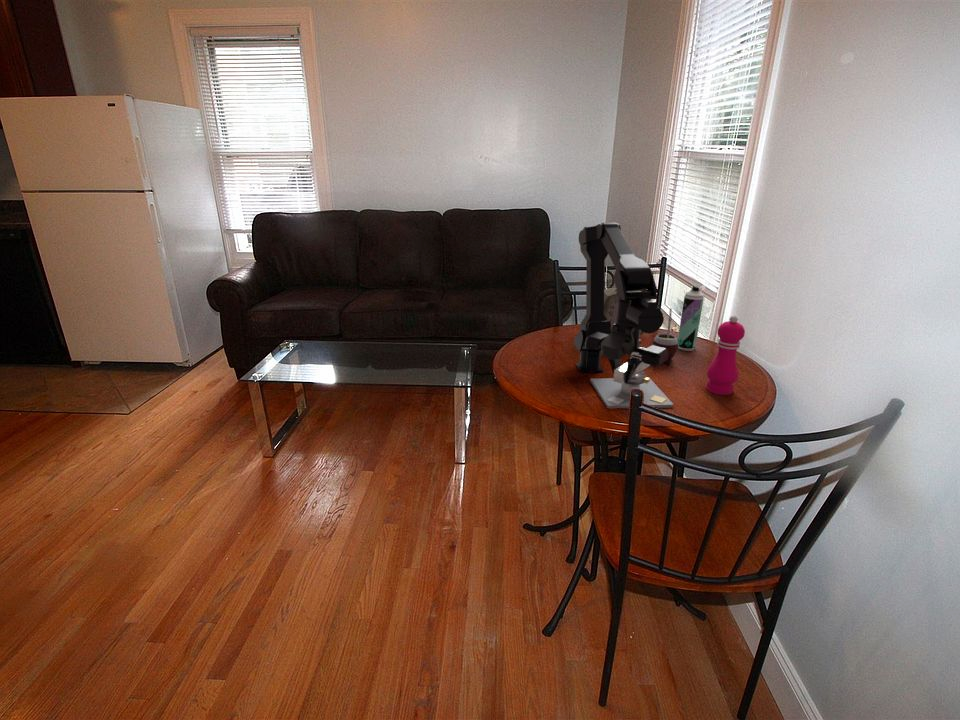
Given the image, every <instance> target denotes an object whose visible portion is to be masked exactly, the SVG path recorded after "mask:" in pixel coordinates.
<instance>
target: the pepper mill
mask: <svg viewBox="0 0 960 720" xmlns="http://www.w3.org/2000/svg"><path fill="white" fill-rule="evenodd" d="M745 331H746V330H745V328H744V325H742V323H740V322H738V317H737V315H732V316H730V317H729V321H724V322H722V323H721V324H720V325H719V326H718V328H717V333H716V334H717V336H718V339H717V343H716V344H717V346H718V348H717V349H718V351H717V353H716V356H715V357H714V359H713V361H712V362H711V363H710V364H709V366H708V368H707V372H706V376H707V378H708V380H707V382H706V390H707V391H709V392H710V393H712V394H715V395H719V396H720V395H721V396H729V395H732V394H733V391H734V388H735V386H734V384H735V383H736V382H737V381H738V379H739V369H738V366H737V361H736V360H737V359H736V354H737V351H738V349H740V345H741V342H740V341H741V340H743V339H744V337H745V333H746V332H745Z"/></svg>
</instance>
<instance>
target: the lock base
mask: <svg viewBox="0 0 960 720" xmlns="http://www.w3.org/2000/svg"><path fill="white" fill-rule="evenodd" d="M646 377H647V376H646ZM613 378H614V377H612V378H611V377H609V378H607V377H606V378H604V377H603V378H590V383H591V385H592V387H593V388H594V389H595V391H596V392H597V394H598V396H599V398H600V397H601V398H600V399H601V401H602V400H603V401H602V402H603V404H604V403H605V404H604V405H606V406H607V407H606V406H605V407H606V409H607V408H627V409H628V410H629V403H630V392H631V390H632V389H640V390H642V391H643V393H644V402H643V403H644V404H647V405H650V406H654V407H657V408H656V409H663V408H665V409H667V408H672V409H673V408H674V403H673V402H672V401H671V400H670V399H669V398H668V397H667V396H666V394H665V393H664V392H663V391H662V390H661V389H660V388H659V387H658V386H657V384H655V382H654V381H653V380H652V379H651V378H650V377H647V378H650V380H649V383H643V384H639V385H631V384H626V383H623V384H621V383H618V382H615V381H613Z"/></svg>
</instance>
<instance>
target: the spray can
mask: <svg viewBox="0 0 960 720" xmlns="http://www.w3.org/2000/svg"><path fill="white" fill-rule="evenodd" d="M704 296H705V294H704V293H702V292H701V290H700V286H699V285H693V286H692V288H691V289H690V290H689V291H686V292H685V294H684V297H683V304H682V310H681V315H680V323H679V329H678V334H677V335H678V336H677V340H678V349H677V350H681V351H687V352H692V351H694V349H696V346H697V340H698V339H697V338H698V333H699V328H700V323H701V317H702V310H703V305H704V301H705V299H704V298H705V297H704Z"/></svg>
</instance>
